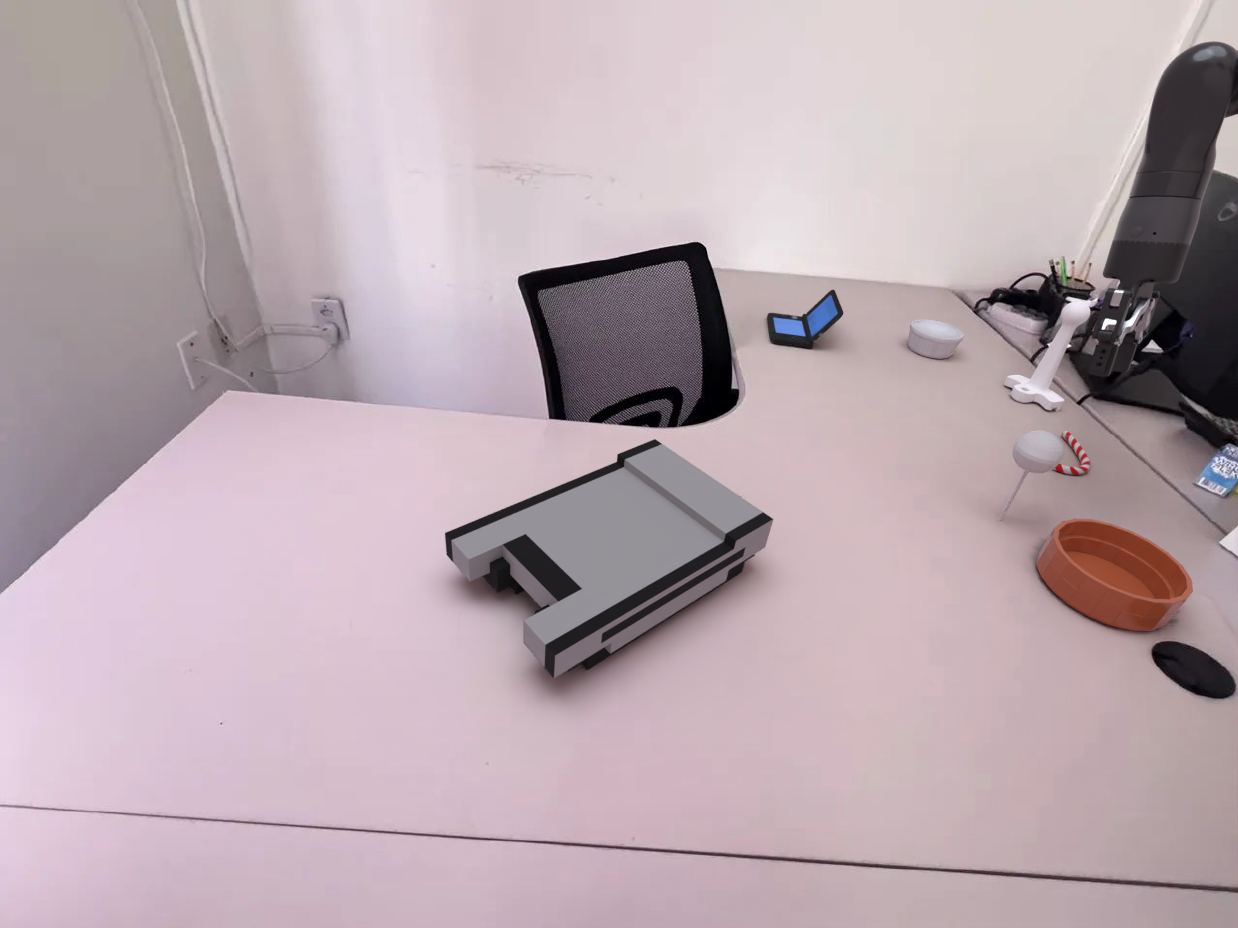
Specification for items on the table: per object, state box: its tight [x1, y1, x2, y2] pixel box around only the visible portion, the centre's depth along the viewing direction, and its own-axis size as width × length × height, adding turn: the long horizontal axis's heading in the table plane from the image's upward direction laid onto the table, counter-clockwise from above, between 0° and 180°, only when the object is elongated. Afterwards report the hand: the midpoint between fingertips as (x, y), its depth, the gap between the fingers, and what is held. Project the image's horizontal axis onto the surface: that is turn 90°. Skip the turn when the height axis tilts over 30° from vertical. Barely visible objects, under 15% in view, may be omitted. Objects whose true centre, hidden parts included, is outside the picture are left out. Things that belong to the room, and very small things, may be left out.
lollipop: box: [998, 429, 1065, 522], centre depth 91 cm, size 6×6×15 cm
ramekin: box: [907, 319, 965, 360], centre depth 145 cm, size 11×11×5 cm
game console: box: [766, 289, 844, 349], centre depth 144 cm, size 16×14×9 cm
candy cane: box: [1052, 430, 1091, 476], centre depth 113 cm, size 8×1×15 cm
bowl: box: [1035, 518, 1194, 632], centre depth 84 cm, size 15×15×6 cm
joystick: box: [1003, 300, 1091, 412], centre depth 125 cm, size 11×8×20 cm
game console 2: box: [444, 438, 774, 679], centre depth 77 cm, size 21×32×8 cm, turn 131°
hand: (1108, 373), depth 83 cm, fingers open, 8 cm apart
